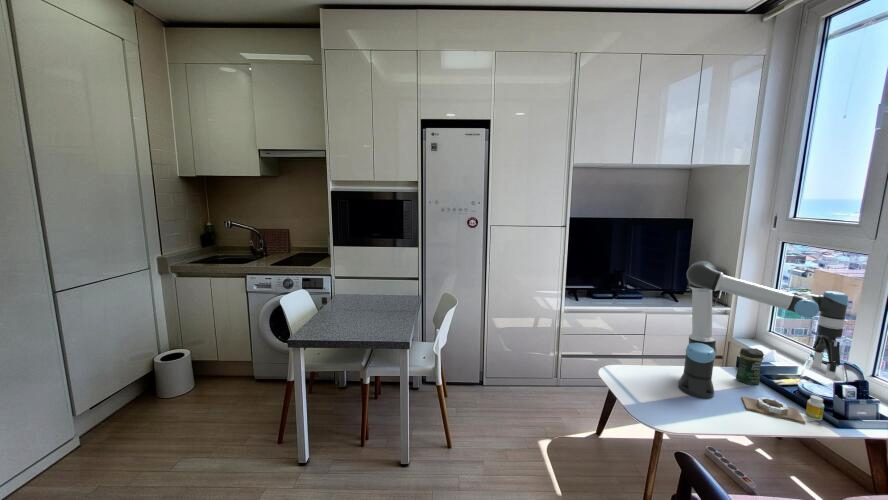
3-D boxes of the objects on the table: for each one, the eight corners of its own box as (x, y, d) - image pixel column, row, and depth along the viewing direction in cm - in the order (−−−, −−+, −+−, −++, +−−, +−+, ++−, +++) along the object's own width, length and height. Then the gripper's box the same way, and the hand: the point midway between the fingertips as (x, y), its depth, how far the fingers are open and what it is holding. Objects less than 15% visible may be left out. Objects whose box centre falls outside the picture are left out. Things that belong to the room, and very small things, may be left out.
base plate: (746, 409, 167) (746, 407, 167) (741, 398, 178) (741, 396, 178) (805, 424, 157) (805, 421, 157) (796, 410, 168) (796, 408, 167)
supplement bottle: (806, 412, 166) (810, 393, 165) (823, 418, 162) (826, 398, 160) (803, 416, 163) (806, 396, 162) (820, 422, 159) (823, 402, 157)
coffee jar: (745, 385, 190) (749, 352, 188) (732, 378, 198) (737, 345, 195) (762, 385, 190) (767, 352, 188) (749, 378, 198) (754, 346, 196)
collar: (760, 410, 166) (760, 405, 165) (755, 400, 174) (756, 395, 174) (789, 417, 161) (790, 411, 160) (783, 406, 169) (783, 401, 169)
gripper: (857, 337, 147) (848, 385, 150) (829, 320, 169) (822, 362, 172) (831, 333, 151) (823, 381, 154) (808, 317, 173) (801, 359, 176)
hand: (823, 371), depth 163 cm, fingers open, 13 cm apart
